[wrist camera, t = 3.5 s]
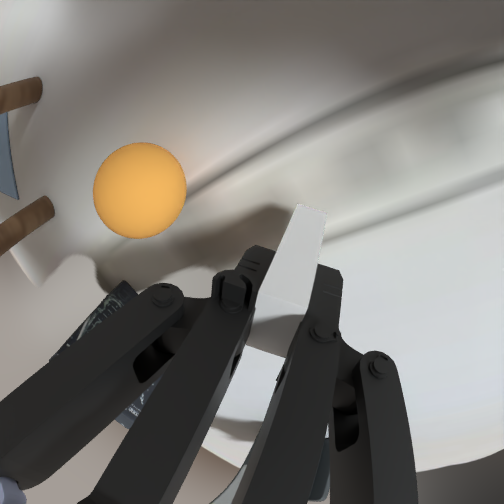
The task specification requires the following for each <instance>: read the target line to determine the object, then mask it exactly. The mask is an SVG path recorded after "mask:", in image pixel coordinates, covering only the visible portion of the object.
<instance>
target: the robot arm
mask: <svg viewBox="0 0 504 504" xmlns="http://www.w3.org/2000/svg"><path fill="white" fill-rule="evenodd" d="M326 218H327V212H324V211H321V210H317V209H314V208H311V207H308V206H304V205H301V204H297V206H296V209H295V211H294V213H293V216H292V218H291V220H290V222H289V225H288V227H287V229H286V231H285V234H284V236H283V238H282V240H281V243H280V245H279V247H278V249H277V252H276V251H273V250H270V249H267V248H264V247H260V246H257V245H255V246H253V247H251V248H249V249H248V250H246V252H245V254H244V255H243V257H242V259H241V260H240V262H239V263H238V266H237V267H236V268H235V270H224V271H222V272H219V273H217V274H216V275H215V276H214V277H213V280H212V293H211V297H209V298H190V297H184V295H183V293H182V291H181V290H180V289H179V288H178V287H177V286H174V285H172V284H168V283H159V284H154V285H152V286H150V287H148V288H147V289H146V290H144V291H143V292H141V293H140V294H139V295H137V296H136V297H135V298H133V299H132V300H130V301H129V302H128V303H126V304H125V305H124V306H122V307H121V308H120V309H118V310H117V311H115V312H114V313H113V314H111V315H110V316H109V317H107V318H106V319H105V320H103V321H102V322H101V323H99V324H98V325H97V326H95V327H94V328H93V329H91V330H90V331H89V332H87V333H86V334H85V335H83V336H82V337H81V338H79V339H78V340H77V341H76V342H74V343H73V344H72V345H70V346H69V347H68V348H66V349H65V350H64V351H63V352H61V353H60V354H59V355H57V356H56V357H55V358H54V359H52V360H51V361H50V362H49V363H47V364H46V365H45V366H43V367H42V368H41V369H40V370H38V371H37V372H36V373H35V374H33V375H32V376H31V377H30V378H28V379H27V380H26V381H25V382H24V383H22V384H21V385H20V386H19V387H17V388H16V389H15V390H14V391H13V392H11V393H10V394H9V395H8V396H7V397H5V398H4V399H3V400H2V401H1V402H0V504H26V500H27V499H26V496H25V494H24V493H23V491H22V490H25V489H29V488H32V487H34V486H36V485H38V484H40V483H42V482H43V481H45V480H46V479H47V478H49V477H50V476H51V475H52V474H54V473H55V472H56V471H57V470H58V469H60V468H61V467H62V466H63V465H64V464H65V463H66V462H68V461H69V460H70V459H71V458H72V457H73V456H74V455H76V454H77V453H78V452H79V451H80V450H81V449H82V448H83V447H84V446H86V444H88V443H89V442H90V441H91V440H92V439H93V438H94V437H96V436H97V435H98V434H99V433H100V432H101V431H102V430H103V429H104V428H106V427H107V426H108V425H109V424H110V423H111V422H112V421H113V420H114V419H115V418H117V417H118V416H119V415H120V414H121V413H122V412H123V411H124V410H125V409H126V408H127V407H128V406H130V405H131V404H132V403H133V402H134V401H135V400H136V399H137V398H138V397H139V396H140V395H141V394H142V393H143V392H144V391H146V390H147V389H148V388H149V387H150V386H151V385H152V384H153V383H154V382H155V381H156V380H157V379H158V378H159V377H160V376H161V375H162V374H163V373H164V374H163V375H162V377H161V379H160V380H159V382H158V384H157V385H156V387H155V388H154V390H153V392H152V393H151V395H150V397H149V398H148V400H147V402H146V403H145V405H144V406H143V408H142V410H141V411H140V413H139V415H138V416H137V418H136V420H135V421H134V423H133V425H132V426H131V428H130V429H129V431H128V433H127V434H126V436H125V438H124V440H123V441H122V443H121V445H120V446H119V448H118V449H117V451H116V453H115V454H114V456H113V458H112V459H111V461H110V463H109V464H108V466H107V468H106V469H105V471H104V473H103V474H102V476H101V478H100V480H99V481H98V483H97V485H96V486H95V488H94V490H93V491H92V492H91V494H90V495H89V496H88V497H86V498H85V499H83V500H81V501H80V502H78V503H77V504H173V502H174V500H175V498H176V496H177V494H178V492H179V490H180V488H181V485H182V484H183V482H184V480H185V478H186V476H187V474H188V472H189V470H190V467H191V466H192V464H193V461H194V459H195V457H196V455H197V453H198V451H199V449H200V447H201V445H202V443H203V441H204V438H205V436H206V434H207V432H208V430H209V428H210V426H211V423H212V421H213V419H214V417H215V415H216V413H217V410H218V408H219V406H220V404H221V402H222V399H223V397H224V395H225V393H226V391H227V388H228V386H229V384H230V382H231V379H232V377H233V375H234V373H235V370H236V368H237V366H238V363H239V361H240V359H241V356H242V351H243V348H244V346H245V344H246V345H248V346H251V347H254V348H256V349H259V350H262V351H265V352H268V353H271V354H274V355H277V356H281V357H284V358H286V359H285V362H284V365H283V367H282V369H281V371H280V373H279V375H278V377H277V379H276V381H277V383H276V386H275V389H274V392H273V395H272V398H271V401H270V404H269V407H268V410H267V413H266V416H265V418H264V421H263V424H262V427H261V430H260V432H259V435H258V438H257V440H256V443H255V446H254V448H253V451H252V454H251V456H250V459H249V461H248V464H247V466H246V469H245V471H244V474H243V476H242V479H241V481H240V484H239V486H238V488H237V491H236V493H235V496H234V498H233V500H232V502H231V504H307V502H308V499H309V495H310V492H311V489H312V485H313V482H314V478H315V475H316V471H317V467H318V464H319V460H320V456H321V452H322V448H323V443H324V439H325V435H326V430H327V425H328V428H329V454H330V504H418V491H417V480H416V470H415V462H414V454H413V447H412V440H411V434H410V428H409V422H408V417H407V412H406V407H405V402H404V397H403V392H402V388H401V384H400V379H399V375H398V371H397V368H396V365H395V363H394V361H393V360H392V359H391V358H390V357H389V356H388V355H386V354H385V353H383V352H379V351H369V352H367V353H366V354H364V355H363V354H361V353H359V352H358V351H356V350H354V349H353V348H351V347H350V346H349V345H347V344H346V343H345V341H344V340H343V339H342V337H341V333H340V331H339V317H340V308H341V299H342V298H341V297H342V288H343V278H342V276H341V274H340V271H339V270H336V269H333V268H330V267H327V266H324V265H320V264H318V260H319V255H320V250H321V245H322V240H323V234H324V229H325V224H326Z"/></svg>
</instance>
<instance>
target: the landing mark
mask: <svg viewBox="0 0 504 504" xmlns="http://www.w3.org/2000/svg"><path fill="white" fill-rule="evenodd" d="M0 192H2V193H4V194H6V195H9V196H11V197H13V198H15V199H17V200H18V199H19V198H18V193H17V188H16V183H15V178H14V172H13V166H12V160H11V153H10V144H9V135H8V122H7V112H6V113H3V114H0Z"/></svg>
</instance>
